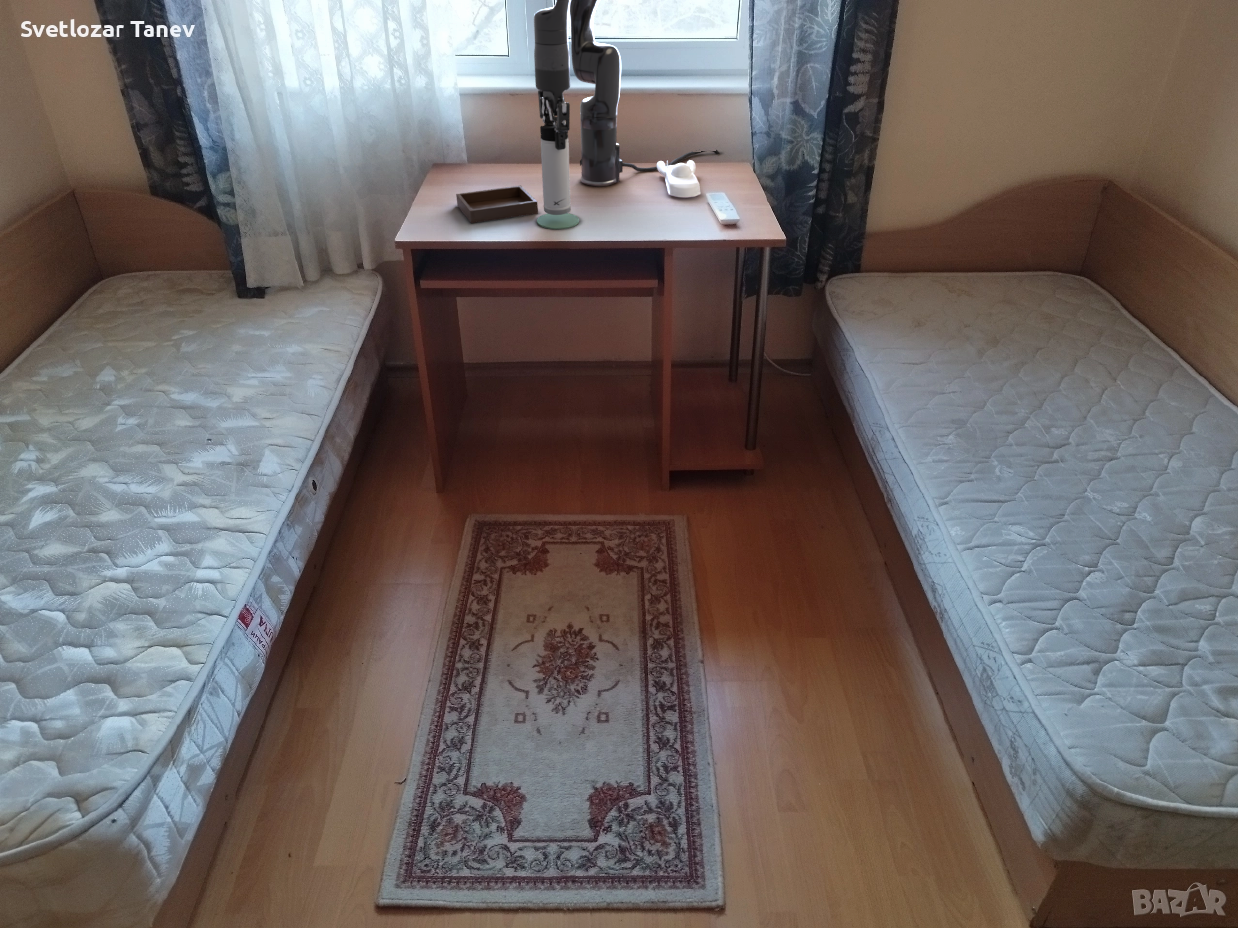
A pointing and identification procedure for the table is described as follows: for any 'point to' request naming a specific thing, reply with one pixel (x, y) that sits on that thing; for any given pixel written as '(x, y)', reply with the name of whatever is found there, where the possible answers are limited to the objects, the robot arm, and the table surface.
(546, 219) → the coaster
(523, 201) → the tray
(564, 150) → the travel mug
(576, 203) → the table surface
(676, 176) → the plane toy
